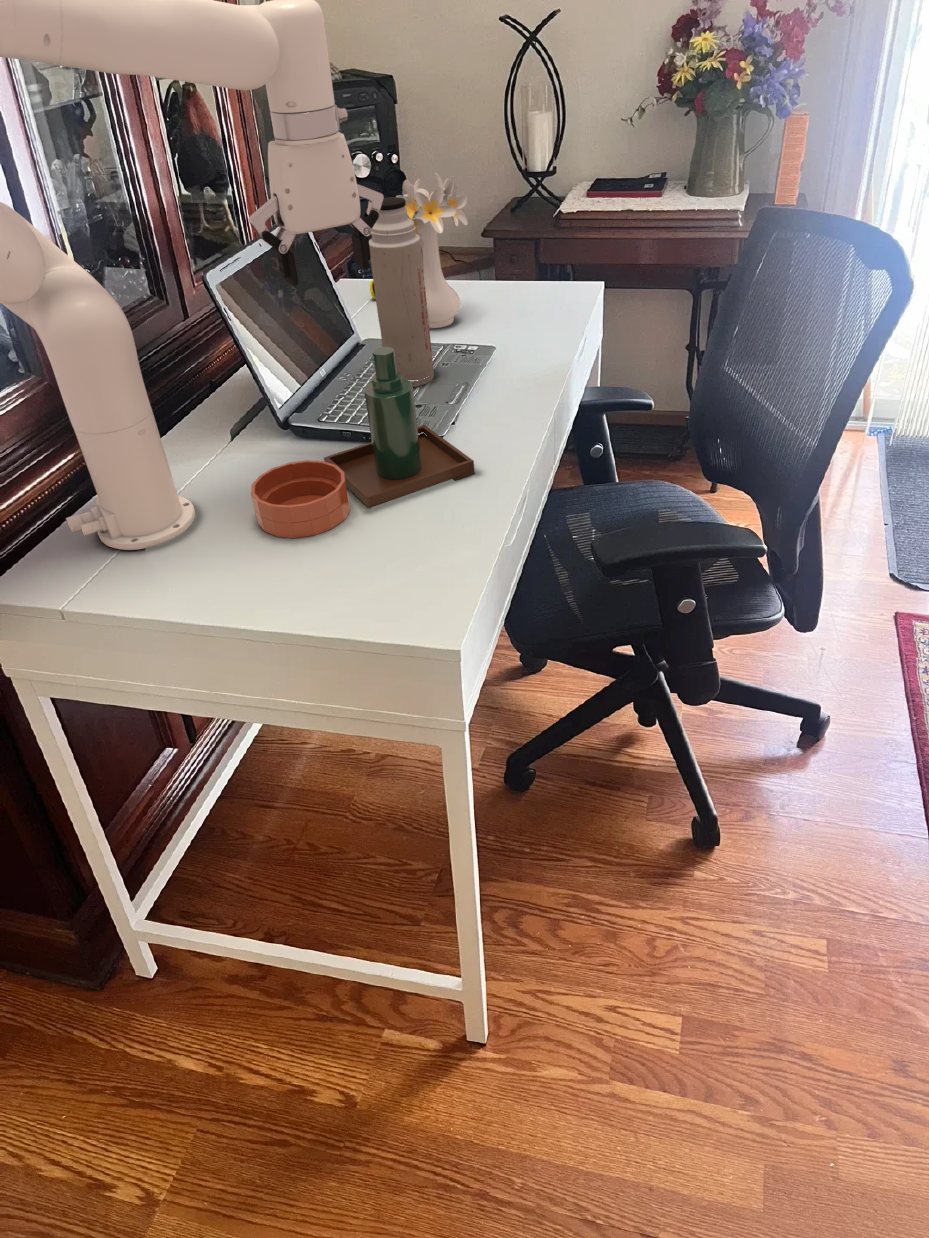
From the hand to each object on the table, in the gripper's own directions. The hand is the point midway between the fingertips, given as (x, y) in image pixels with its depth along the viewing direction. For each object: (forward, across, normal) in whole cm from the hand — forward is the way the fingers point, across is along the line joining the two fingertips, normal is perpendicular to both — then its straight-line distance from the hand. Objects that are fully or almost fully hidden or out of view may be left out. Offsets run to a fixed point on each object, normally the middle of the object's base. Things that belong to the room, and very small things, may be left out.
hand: (327, 275), depth 120 cm
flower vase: (+26, -34, -40) cm, 59 cm away
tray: (+26, -4, +8) cm, 27 cm away
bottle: (+25, -4, +8) cm, 27 cm away
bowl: (+26, +12, +11) cm, 31 cm away
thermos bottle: (+26, -19, -21) cm, 38 cm away
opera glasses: (+26, -35, -62) cm, 76 cm away
